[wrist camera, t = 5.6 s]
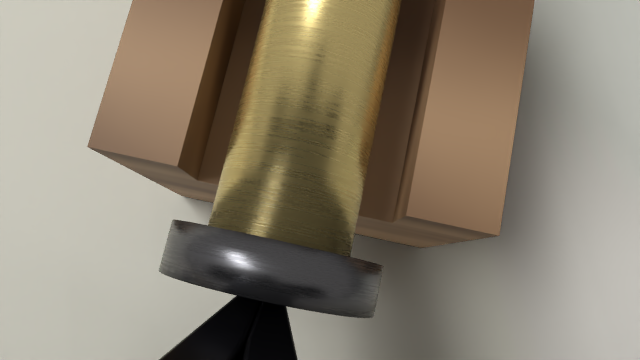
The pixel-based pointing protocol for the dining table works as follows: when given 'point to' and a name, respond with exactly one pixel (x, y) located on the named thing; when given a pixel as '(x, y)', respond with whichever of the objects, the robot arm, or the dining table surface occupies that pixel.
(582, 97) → the dining table surface
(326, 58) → the lock pin
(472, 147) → the mount
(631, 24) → the dining table surface
